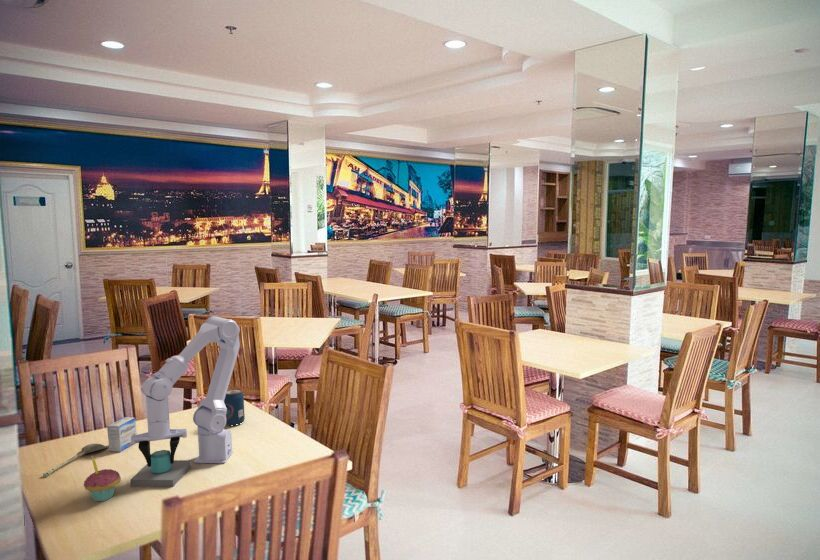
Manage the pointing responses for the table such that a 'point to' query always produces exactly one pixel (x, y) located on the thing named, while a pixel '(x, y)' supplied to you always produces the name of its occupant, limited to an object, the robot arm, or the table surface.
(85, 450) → the soupspoon
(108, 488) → the cupcake
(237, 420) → the soda can
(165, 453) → the cap
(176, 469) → the stud stand
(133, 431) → the medicine box
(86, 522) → the table surface
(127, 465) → the table surface
